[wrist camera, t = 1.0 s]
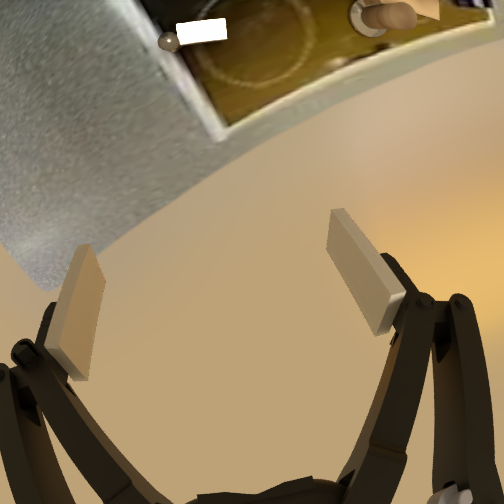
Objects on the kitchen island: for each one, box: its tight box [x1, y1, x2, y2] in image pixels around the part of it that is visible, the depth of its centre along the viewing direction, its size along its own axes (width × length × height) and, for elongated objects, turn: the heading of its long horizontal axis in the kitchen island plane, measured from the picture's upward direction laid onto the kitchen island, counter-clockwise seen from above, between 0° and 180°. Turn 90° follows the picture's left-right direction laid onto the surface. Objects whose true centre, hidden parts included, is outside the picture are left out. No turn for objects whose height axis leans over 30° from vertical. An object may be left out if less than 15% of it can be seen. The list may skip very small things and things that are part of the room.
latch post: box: [158, 18, 227, 52], centre depth 26 cm, size 3×7×11 cm, turn 94°
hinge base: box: [348, 0, 387, 37], centre depth 30 cm, size 6×6×1 cm
